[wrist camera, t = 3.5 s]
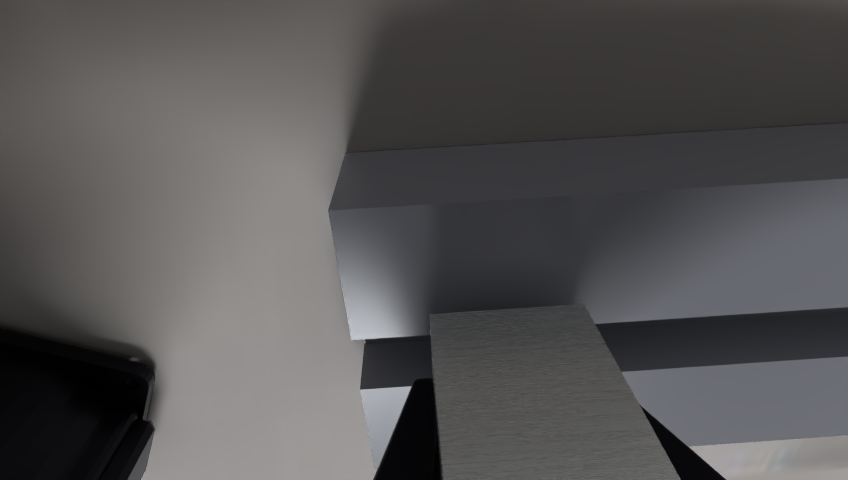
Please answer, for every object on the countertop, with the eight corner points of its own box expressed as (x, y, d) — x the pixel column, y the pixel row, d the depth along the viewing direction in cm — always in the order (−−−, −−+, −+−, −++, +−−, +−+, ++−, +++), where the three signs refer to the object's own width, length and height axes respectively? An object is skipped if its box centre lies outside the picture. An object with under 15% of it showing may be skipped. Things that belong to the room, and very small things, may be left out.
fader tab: (431, 380, 12) (450, 634, 8) (424, 259, 10) (445, 506, 5) (539, 372, 12) (625, 621, 8) (554, 251, 10) (686, 489, 6)
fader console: (378, 382, 15) (373, 472, 12) (345, 153, 11) (327, 213, 8) (967, 342, 15) (1088, 421, 12) (1158, 103, 11) (1399, 146, 8)
